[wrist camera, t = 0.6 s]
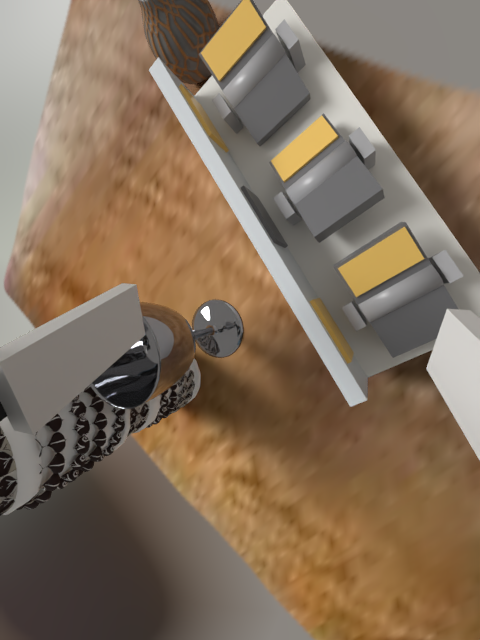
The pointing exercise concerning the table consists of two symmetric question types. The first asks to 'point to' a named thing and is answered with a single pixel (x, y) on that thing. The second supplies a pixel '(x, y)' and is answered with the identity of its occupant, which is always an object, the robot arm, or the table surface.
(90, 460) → the decorative candle
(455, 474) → the table surface
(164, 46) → the vase
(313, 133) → the switch middle
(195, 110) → the switch unit
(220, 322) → the wine glass
